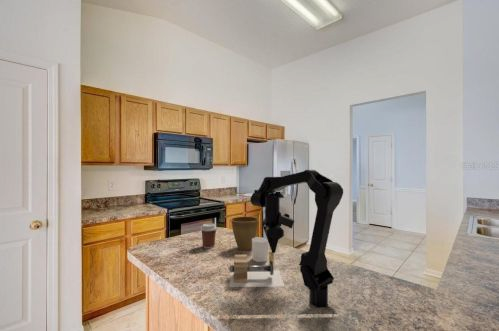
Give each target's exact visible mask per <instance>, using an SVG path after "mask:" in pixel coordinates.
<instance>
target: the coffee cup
mask: <svg viewBox="0 0 499 331" xmlns="http://www.w3.org/2000/svg"><path fill="white" fill-rule="evenodd" d="M217 230H218V227H217V226H216V224H215V223H203V224H202V226H201V227H200V231H201V237H202V238H201V239H202V242H201V243H202V248H203V247H204V248H203V249H213V248H214V247H215V245H216V232H217ZM212 247H213V248H212Z"/></svg>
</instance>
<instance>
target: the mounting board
mask: <svg viewBox="0 0 499 331" xmlns="http://www.w3.org/2000/svg"><path fill="white" fill-rule="evenodd" d="M285 286H286V285H285V283H284V281H283V277H282V275H281V272H280V270H279V269H274V272H273V275H270V272H247V283H234V272H230V278H229V286H228V287H229V288H248V287H249V288H255V287H256V288H257V287H259V288H262V287H263V288H270V287H271V288H272V287H274V288H276V287H278V288H279V287H280V288H281V287H283V288H285Z"/></svg>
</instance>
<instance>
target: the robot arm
mask: <svg viewBox="0 0 499 331" xmlns="http://www.w3.org/2000/svg"><path fill="white" fill-rule="evenodd" d="M300 184H307V186H308V188H309V190H310V191H311V192H313V193H314V201H315V205H316V214H315V220H314V224H313V230H312V234H311V240H310V245H309V249H308V251H306V252H303V253H301V256H300V262H299V264H298V265H299V266H300V267H299V271H300V273H301V276H302V281H303V284H304V287H307V289H308V290H309V291H308V292H309V293H308V295H309V296H308V298H309V300H308V301H309V303H310V304H311V305H313V306H314V307H315V308H317V309H318V308H319V309H320V308H322V309H323V308H324V309H325V308H328V304H329V299H328V298H329V286H330V285H331V284H333V283H334V279H335V277H334V276H333V275H332V273H331V272H330V270H329V269H328V260H327V256H326V249H327V248H326V247H327V243H328V238H329V235H330V234H329V233H330V230H331V225H332V219H333V215H334V211H335V210H336V209H337V207H338V206H339V205H340V203H341V200H342V197H343V195H344V189H343V187H342V186H341V184H340V183H338V182H337V181H333V180H332V179H330V178H328V177H327V176H324V175H323V174H321V173H320V172H318V171H317V170H315V169H305V170H304V171H299V172H295V173H291V174H287V175H283V176H282V175H281V176H266V177H264V178H263V180H262V183H261V184H260V186H259V188H258V189H254V190H253V191H254V192H253V193H252V194H251V197H250V203H251V205H252V206H255V207H261V208H264V212H263V213H264V218H263V219H262V228H263V232H264V233H265V238H267V240H268V246H269V247H270V252H272V253H274V254H275V253H276V250H277V246H278V243H279V240H281V239H282V238H283V237H284V236H285V233H284V232H285V231H284V229H283V228H282V225H283V226H285V227H287V228H288V229H293V226H294V224H295V219H294V218H292V217H290V214H288V213H284V214H282V213H281V212H280V210H281V209H280V202H281V201H280V200H281V199H284V197H285V196H284V195H283V193H281V191H282V190H285V188H287V187H291V186H296V185H300Z"/></svg>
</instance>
